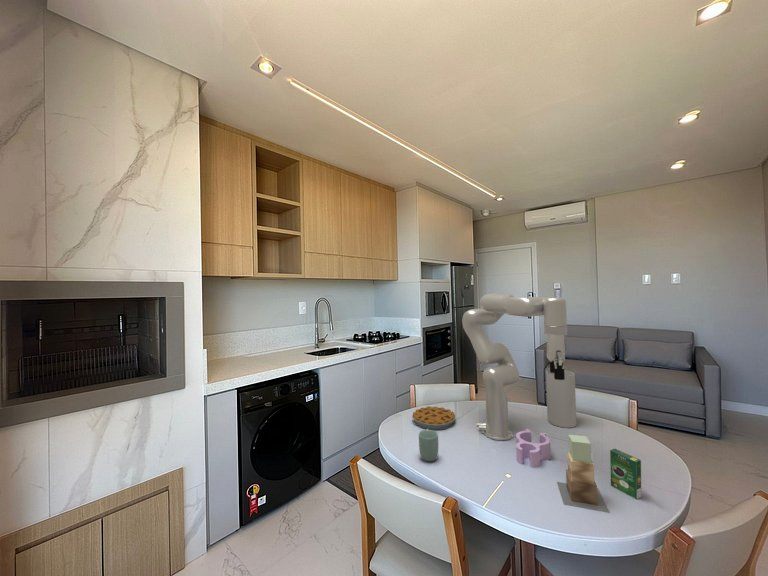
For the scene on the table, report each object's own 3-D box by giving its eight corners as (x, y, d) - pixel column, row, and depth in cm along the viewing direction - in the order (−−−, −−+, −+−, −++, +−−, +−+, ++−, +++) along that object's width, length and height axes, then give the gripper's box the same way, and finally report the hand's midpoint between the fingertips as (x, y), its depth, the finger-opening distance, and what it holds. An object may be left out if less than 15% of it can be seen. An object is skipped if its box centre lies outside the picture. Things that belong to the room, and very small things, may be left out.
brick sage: (572, 460, 98) (572, 441, 98) (569, 452, 103) (568, 434, 103) (591, 463, 96) (590, 443, 96) (586, 455, 101) (586, 436, 101)
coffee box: (643, 501, 98) (641, 459, 98) (637, 503, 97) (636, 461, 97) (615, 486, 105) (614, 447, 105) (610, 489, 104) (608, 449, 104)
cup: (440, 455, 128) (439, 430, 128) (437, 465, 121) (436, 439, 121) (421, 452, 131) (420, 428, 131) (417, 462, 124) (416, 436, 124)
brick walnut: (571, 500, 97) (570, 481, 97) (566, 487, 104) (565, 469, 104) (597, 505, 95) (597, 485, 95) (591, 491, 101) (590, 472, 101)
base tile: (563, 508, 96) (563, 504, 96) (556, 485, 107) (556, 481, 107) (610, 517, 91) (610, 512, 91) (598, 491, 103) (597, 488, 103)
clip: (544, 474, 113) (544, 455, 113) (508, 464, 121) (508, 446, 121) (553, 451, 129) (552, 434, 130) (521, 443, 137) (520, 427, 137)
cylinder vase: (576, 420, 158) (574, 371, 158) (576, 430, 147) (574, 377, 147) (548, 416, 164) (547, 368, 165) (546, 425, 154) (544, 374, 154)
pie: (428, 410, 177) (428, 401, 177) (463, 420, 162) (463, 411, 162) (404, 423, 161) (403, 413, 161) (439, 435, 146) (439, 425, 146)
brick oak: (572, 480, 97) (571, 461, 98) (567, 470, 103) (567, 451, 103) (594, 484, 95) (593, 464, 95) (589, 473, 101) (588, 454, 101)
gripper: (541, 327, 127) (542, 369, 127) (547, 333, 111) (549, 381, 111) (562, 327, 125) (563, 370, 124) (572, 333, 108) (573, 383, 108)
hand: (557, 375), depth 118 cm, fingers open, 9 cm apart
